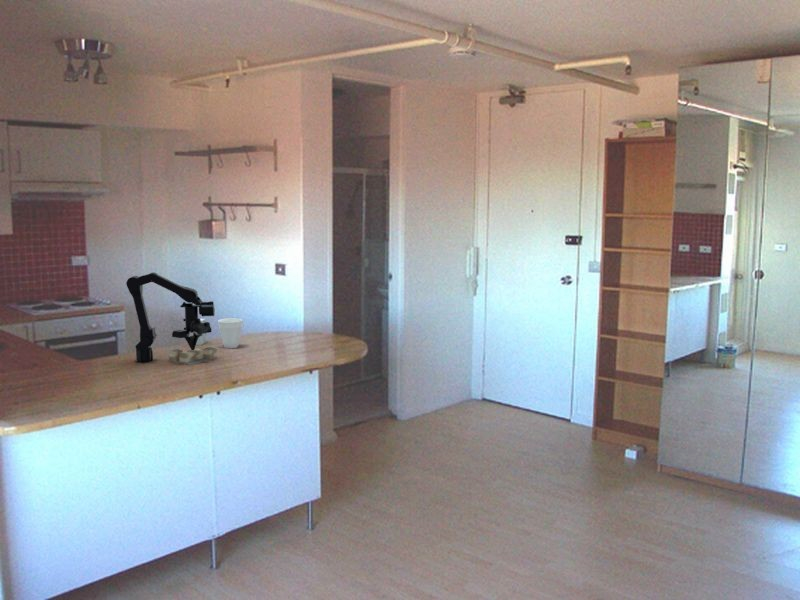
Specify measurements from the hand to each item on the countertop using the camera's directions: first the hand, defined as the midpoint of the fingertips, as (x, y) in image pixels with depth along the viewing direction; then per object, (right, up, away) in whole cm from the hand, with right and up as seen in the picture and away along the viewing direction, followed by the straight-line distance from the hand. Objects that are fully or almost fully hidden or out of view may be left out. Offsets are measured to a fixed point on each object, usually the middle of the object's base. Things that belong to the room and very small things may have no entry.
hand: (192, 349), depth 337 cm
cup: (+11, -1, +31) cm, 33 cm away
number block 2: (+7, -4, +4) cm, 9 cm away
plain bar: (0, -4, +1) cm, 4 cm away
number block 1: (-7, -5, -1) cm, 9 cm away
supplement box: (-8, 0, +39) cm, 40 cm away
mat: (0, -5, +1) cm, 5 cm away
